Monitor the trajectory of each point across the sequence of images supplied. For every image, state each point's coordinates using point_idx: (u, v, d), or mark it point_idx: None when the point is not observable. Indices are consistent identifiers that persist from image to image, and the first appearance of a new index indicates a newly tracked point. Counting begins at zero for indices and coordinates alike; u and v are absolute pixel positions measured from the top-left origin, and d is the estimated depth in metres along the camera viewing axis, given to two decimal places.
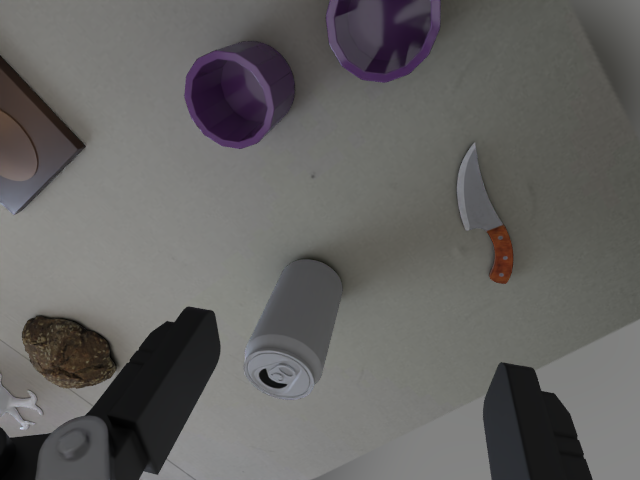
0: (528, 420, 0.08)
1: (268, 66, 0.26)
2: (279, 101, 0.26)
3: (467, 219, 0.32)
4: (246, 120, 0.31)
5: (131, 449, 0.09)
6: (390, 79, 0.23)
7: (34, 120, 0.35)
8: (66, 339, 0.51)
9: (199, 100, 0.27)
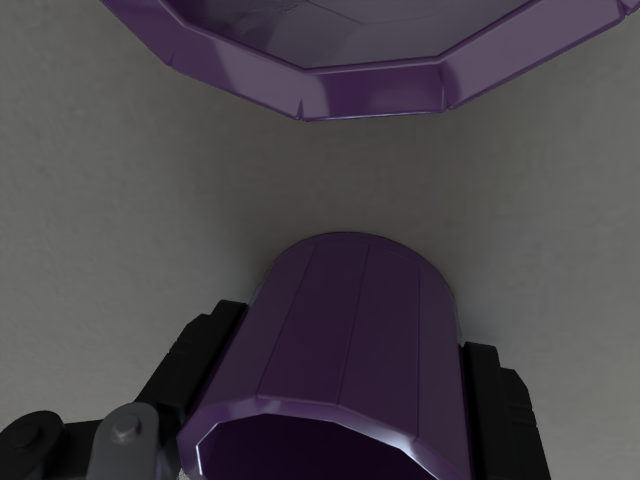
0: (485, 392, 0.09)
1: (298, 325, 0.08)
2: (409, 373, 0.07)
3: None
4: None
5: None
6: None
7: None
8: None
9: None
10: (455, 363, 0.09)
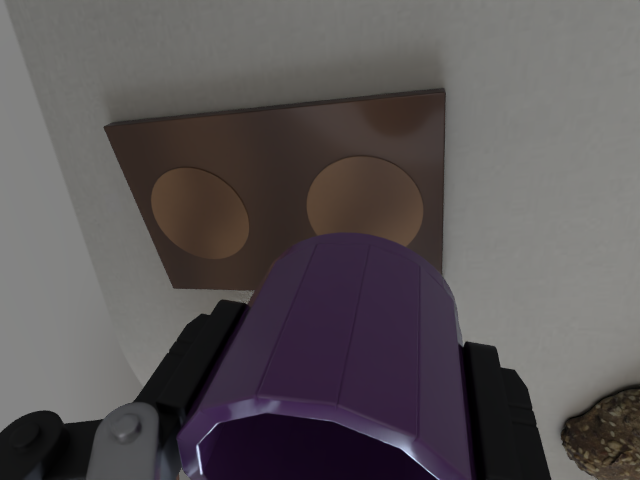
0: (485, 392, 0.09)
1: (299, 324, 0.08)
2: (409, 373, 0.07)
3: None
4: None
5: None
6: None
7: (369, 124, 0.23)
8: None
9: None
10: (455, 363, 0.09)
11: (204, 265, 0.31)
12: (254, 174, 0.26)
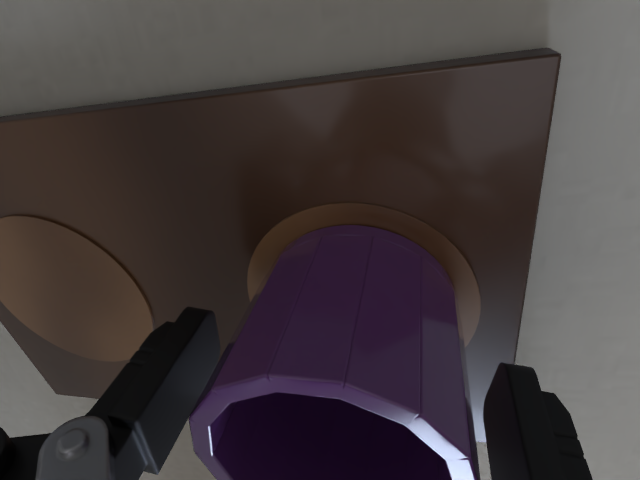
0: (528, 420, 0.08)
1: (306, 310, 0.08)
2: (412, 356, 0.08)
3: None
4: None
5: (132, 449, 0.09)
6: None
7: (368, 136, 0.10)
8: None
9: (295, 477, 0.11)
10: (456, 348, 0.09)
11: (93, 368, 0.19)
12: (144, 231, 0.13)
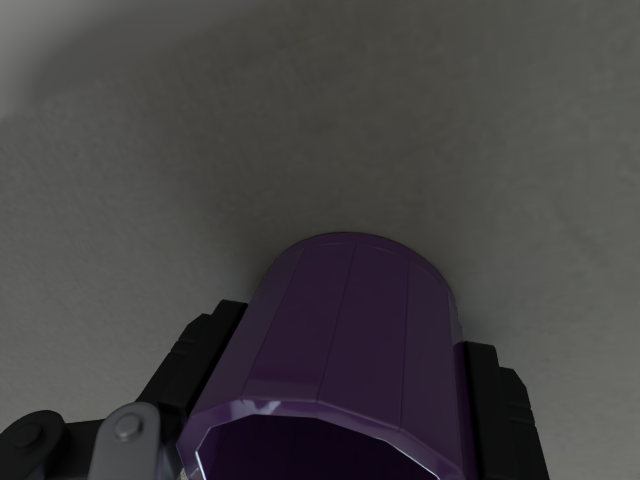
0: (484, 391, 0.09)
1: None
2: None
3: None
4: None
5: None
6: None
7: None
8: None
9: None
10: None
11: None
12: None
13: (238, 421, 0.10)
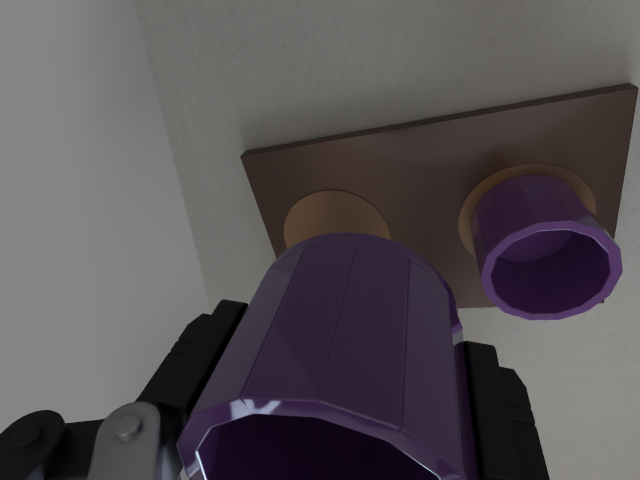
0: (484, 391, 0.09)
1: (535, 205, 0.20)
2: (588, 215, 0.19)
3: None
4: (554, 254, 0.24)
5: None
6: None
7: (543, 129, 0.21)
8: None
9: (514, 298, 0.22)
10: (598, 220, 0.20)
11: None
12: (402, 191, 0.25)
13: (238, 421, 0.10)
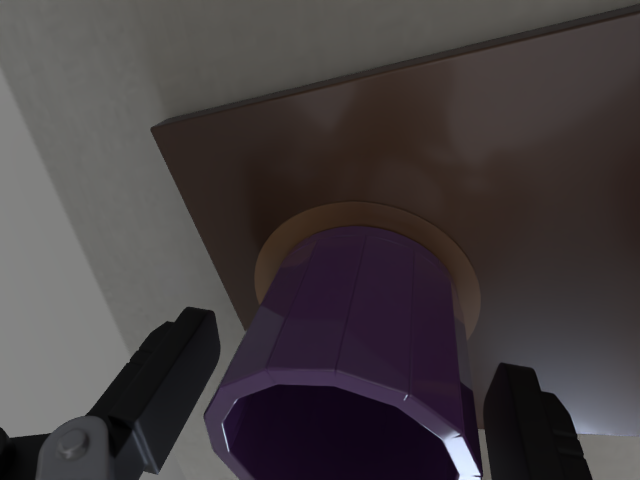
0: (528, 420, 0.08)
1: None
2: None
3: None
4: None
5: (131, 449, 0.09)
6: None
7: None
8: None
9: None
10: None
11: None
12: (524, 204, 0.10)
13: (256, 400, 0.11)
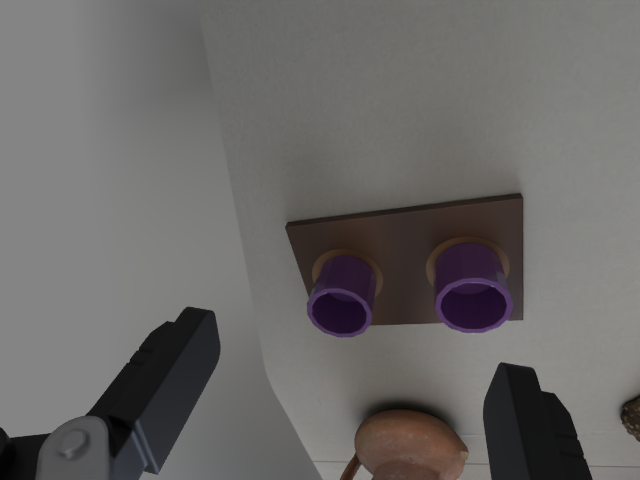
0: (528, 420, 0.08)
1: (464, 266, 0.34)
2: (493, 273, 0.33)
3: None
4: (486, 290, 0.38)
5: (132, 449, 0.09)
6: (370, 321, 0.37)
7: (472, 218, 0.35)
8: None
9: (457, 319, 0.36)
10: (503, 273, 0.34)
11: None
12: (389, 250, 0.39)
13: (316, 304, 0.40)
